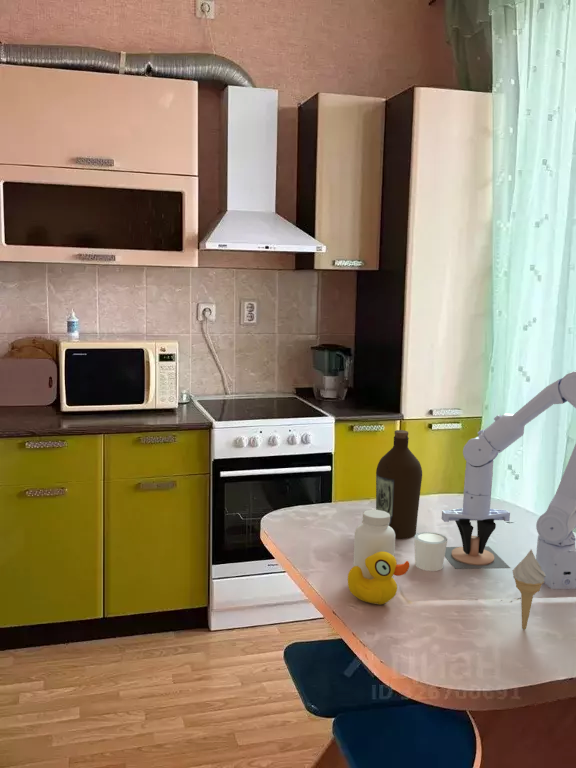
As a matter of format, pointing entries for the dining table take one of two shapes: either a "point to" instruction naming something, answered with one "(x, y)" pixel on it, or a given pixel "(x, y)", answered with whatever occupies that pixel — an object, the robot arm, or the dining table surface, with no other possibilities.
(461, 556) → the lid
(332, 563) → the dining table surface
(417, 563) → the white cup
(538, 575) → the ice cream cone
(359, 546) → the pill bottle
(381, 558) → the duckling
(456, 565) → the mat
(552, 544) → the robot arm
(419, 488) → the olive oil
